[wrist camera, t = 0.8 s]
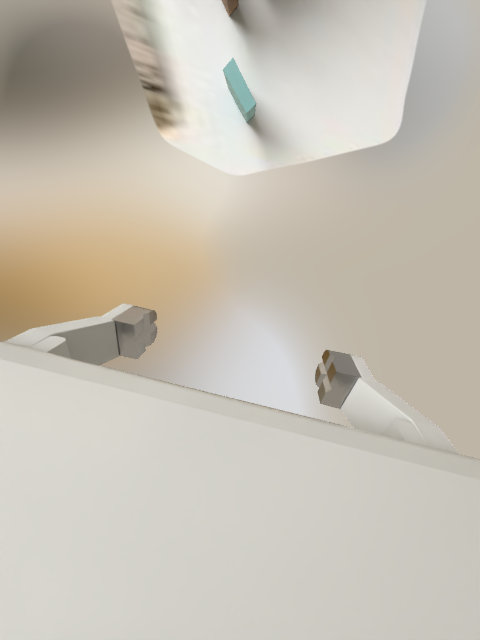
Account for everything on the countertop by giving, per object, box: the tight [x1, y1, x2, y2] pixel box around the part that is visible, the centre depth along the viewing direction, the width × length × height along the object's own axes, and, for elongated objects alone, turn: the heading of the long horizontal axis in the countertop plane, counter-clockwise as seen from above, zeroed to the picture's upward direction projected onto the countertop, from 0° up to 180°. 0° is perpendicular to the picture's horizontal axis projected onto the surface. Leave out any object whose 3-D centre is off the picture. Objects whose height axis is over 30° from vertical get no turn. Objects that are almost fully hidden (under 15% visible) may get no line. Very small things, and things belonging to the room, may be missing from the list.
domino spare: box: [223, 58, 256, 122], centre depth 31 cm, size 2×5×10 cm, turn 37°
